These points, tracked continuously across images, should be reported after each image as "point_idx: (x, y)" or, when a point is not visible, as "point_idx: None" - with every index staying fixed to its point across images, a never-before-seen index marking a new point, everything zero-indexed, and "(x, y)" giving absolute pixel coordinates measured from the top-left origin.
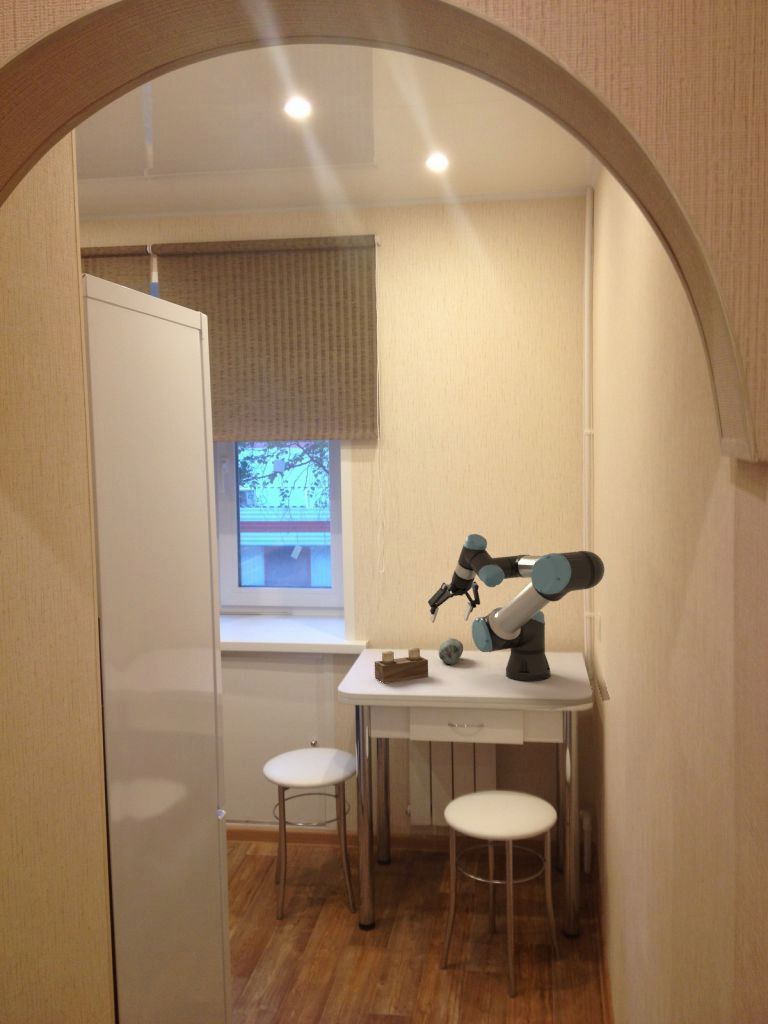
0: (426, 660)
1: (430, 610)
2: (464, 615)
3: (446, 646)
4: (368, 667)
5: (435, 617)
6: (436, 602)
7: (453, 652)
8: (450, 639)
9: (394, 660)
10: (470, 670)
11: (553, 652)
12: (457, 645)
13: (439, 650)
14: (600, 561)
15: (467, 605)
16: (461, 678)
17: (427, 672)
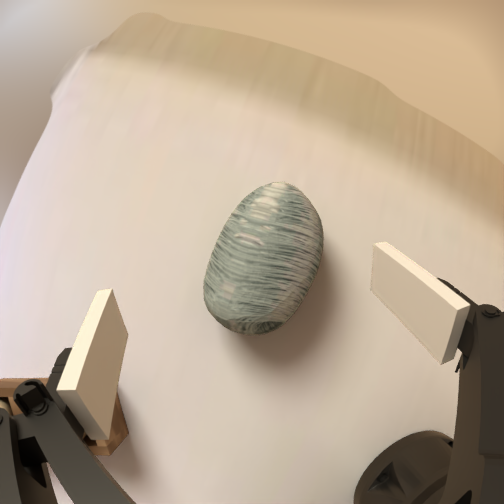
0: (105, 454)
1: (57, 365)
2: (382, 270)
3: (225, 319)
4: (8, 250)
5: (118, 366)
6: (54, 501)
7: (252, 334)
8: (269, 245)
9: (14, 406)
10: (284, 407)
11: None
12: (281, 313)
13: (204, 283)
14: None
15: (438, 311)
16: (224, 480)
17: (122, 438)
